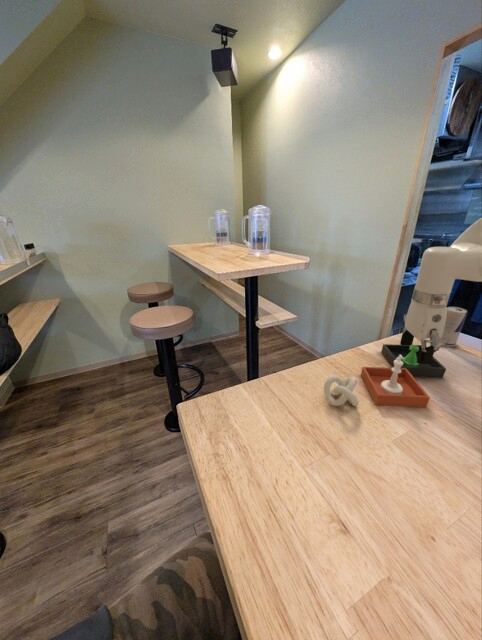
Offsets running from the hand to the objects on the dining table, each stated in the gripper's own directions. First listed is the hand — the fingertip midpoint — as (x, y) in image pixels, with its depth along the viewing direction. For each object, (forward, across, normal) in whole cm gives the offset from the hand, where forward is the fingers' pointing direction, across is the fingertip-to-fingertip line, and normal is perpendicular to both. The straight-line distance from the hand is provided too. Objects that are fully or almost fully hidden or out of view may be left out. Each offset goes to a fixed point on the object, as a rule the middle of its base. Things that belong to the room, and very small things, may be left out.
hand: (414, 353), depth 72 cm
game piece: (+3, 0, 0) cm, 3 cm away
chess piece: (+3, -12, +10) cm, 16 cm away
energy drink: (+4, +13, -17) cm, 21 cm away
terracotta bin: (+4, -12, +10) cm, 16 cm away
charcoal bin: (+4, 0, 0) cm, 4 cm away
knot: (+4, -17, +23) cm, 29 cm away
